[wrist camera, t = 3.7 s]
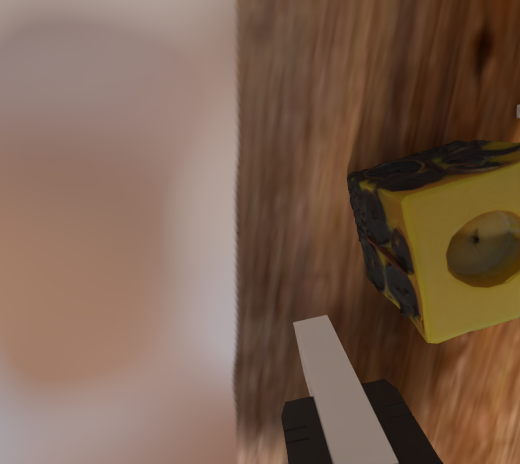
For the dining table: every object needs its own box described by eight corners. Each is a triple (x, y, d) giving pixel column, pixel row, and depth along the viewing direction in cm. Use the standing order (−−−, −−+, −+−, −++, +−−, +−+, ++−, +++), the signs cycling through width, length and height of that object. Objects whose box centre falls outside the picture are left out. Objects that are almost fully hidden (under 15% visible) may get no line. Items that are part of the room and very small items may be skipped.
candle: (474, 248, 30) (587, 304, 20) (366, 282, 30) (427, 352, 20) (461, 136, 27) (587, 139, 17) (342, 174, 27) (400, 198, 17)
